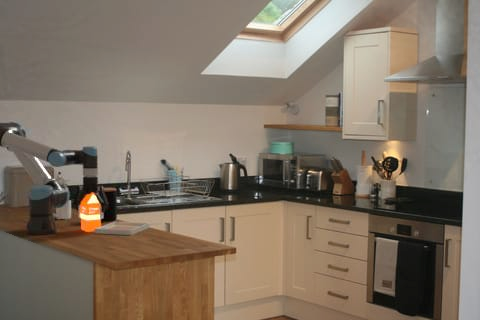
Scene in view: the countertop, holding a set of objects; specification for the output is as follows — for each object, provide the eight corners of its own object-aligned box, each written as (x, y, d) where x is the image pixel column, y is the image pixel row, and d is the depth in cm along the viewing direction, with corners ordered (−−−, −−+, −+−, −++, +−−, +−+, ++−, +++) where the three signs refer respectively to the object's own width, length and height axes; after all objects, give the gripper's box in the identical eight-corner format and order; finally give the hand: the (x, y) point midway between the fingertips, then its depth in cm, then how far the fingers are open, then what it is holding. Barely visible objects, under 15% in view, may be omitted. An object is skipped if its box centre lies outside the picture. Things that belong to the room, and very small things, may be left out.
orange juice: (86, 232, 354) (86, 193, 353) (80, 229, 362) (80, 191, 360) (101, 230, 359) (100, 192, 357) (95, 228, 366) (94, 190, 365)
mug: (53, 220, 391) (53, 202, 390) (47, 218, 397) (47, 201, 396) (73, 218, 398) (73, 200, 397) (67, 217, 404) (67, 199, 404)
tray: (131, 235, 346) (131, 230, 346) (94, 233, 351) (94, 228, 351) (149, 227, 369) (149, 223, 369) (114, 225, 374) (114, 221, 374)
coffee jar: (93, 220, 392) (93, 188, 391) (109, 218, 400) (108, 187, 399) (105, 222, 385) (104, 190, 384) (120, 220, 393) (120, 188, 392)
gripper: (114, 176, 359) (115, 217, 360) (72, 175, 365) (73, 216, 366) (108, 177, 352) (108, 220, 353) (65, 176, 358) (66, 218, 359)
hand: (90, 218), depth 360 cm, fingers closed on orange juice, 11 cm apart
